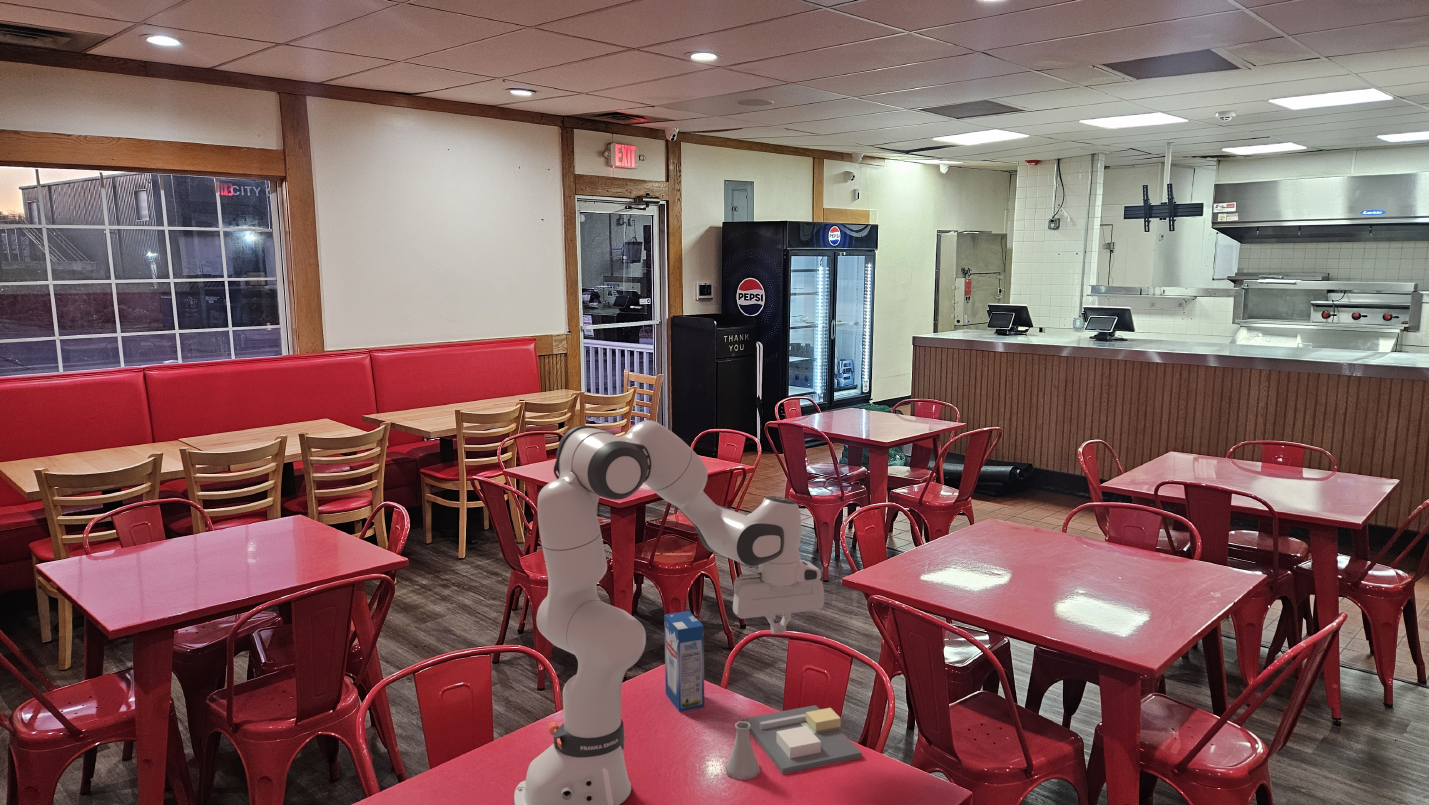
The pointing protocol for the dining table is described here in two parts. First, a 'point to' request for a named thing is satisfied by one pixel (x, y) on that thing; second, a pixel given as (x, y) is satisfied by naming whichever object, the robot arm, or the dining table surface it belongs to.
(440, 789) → the dining table surface
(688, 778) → the dining table surface
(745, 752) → the flask
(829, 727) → the stub
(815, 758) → the ticket board
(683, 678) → the milk carton
